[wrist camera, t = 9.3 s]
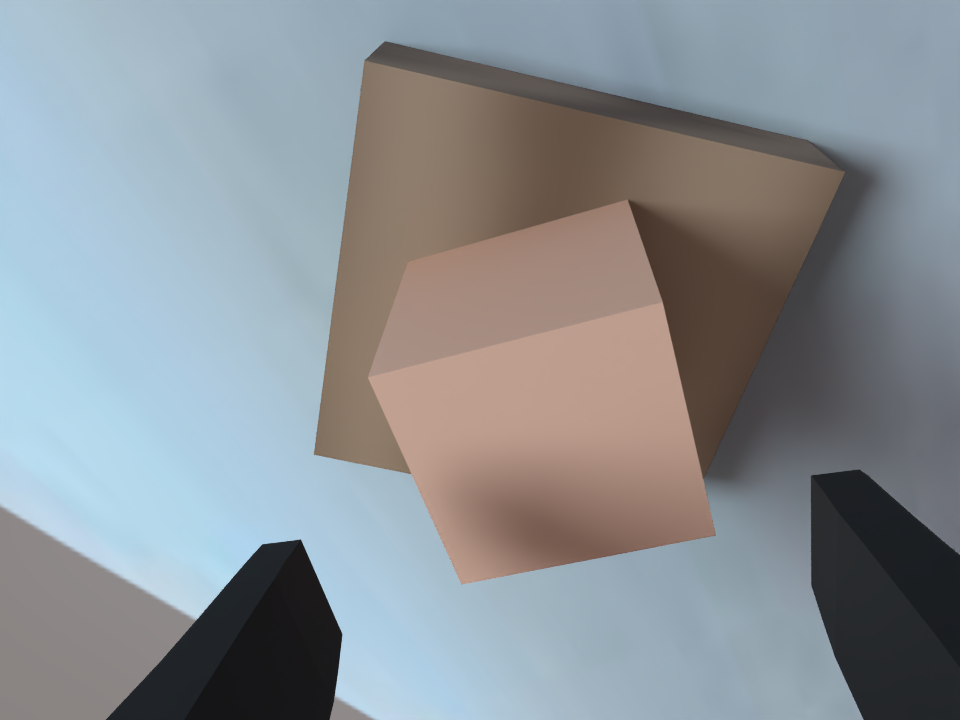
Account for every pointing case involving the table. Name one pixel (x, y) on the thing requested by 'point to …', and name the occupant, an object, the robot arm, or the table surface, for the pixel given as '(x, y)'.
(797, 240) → the walnut base block
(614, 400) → the terracotta cube
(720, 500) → the table surface
